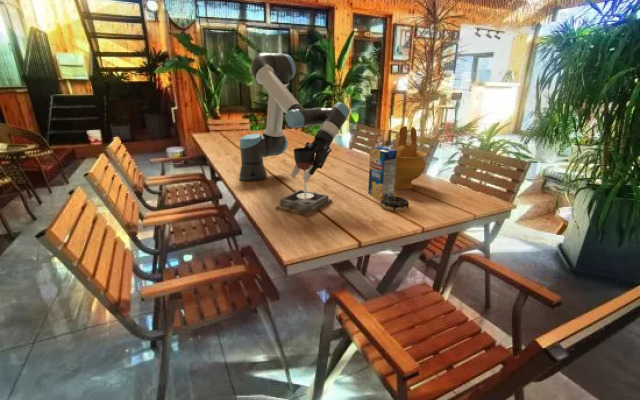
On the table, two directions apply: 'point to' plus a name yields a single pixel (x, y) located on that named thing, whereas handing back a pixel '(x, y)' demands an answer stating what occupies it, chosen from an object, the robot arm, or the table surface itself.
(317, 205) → the tray
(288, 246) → the table surface
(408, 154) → the decorative bowl
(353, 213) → the table surface
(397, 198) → the donut
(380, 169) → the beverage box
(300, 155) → the wineglass
